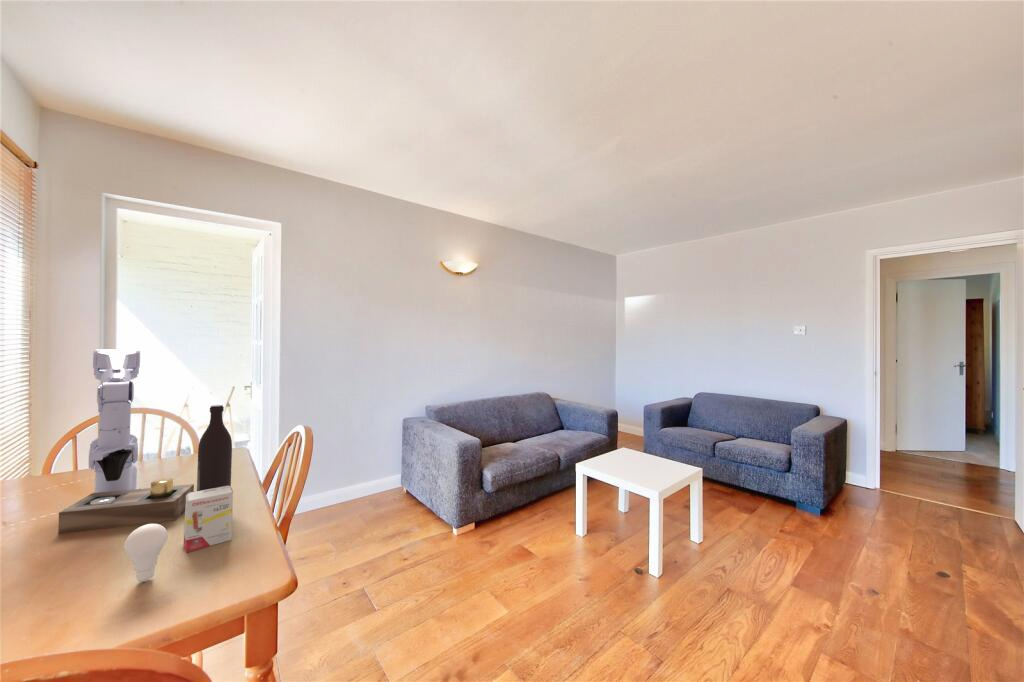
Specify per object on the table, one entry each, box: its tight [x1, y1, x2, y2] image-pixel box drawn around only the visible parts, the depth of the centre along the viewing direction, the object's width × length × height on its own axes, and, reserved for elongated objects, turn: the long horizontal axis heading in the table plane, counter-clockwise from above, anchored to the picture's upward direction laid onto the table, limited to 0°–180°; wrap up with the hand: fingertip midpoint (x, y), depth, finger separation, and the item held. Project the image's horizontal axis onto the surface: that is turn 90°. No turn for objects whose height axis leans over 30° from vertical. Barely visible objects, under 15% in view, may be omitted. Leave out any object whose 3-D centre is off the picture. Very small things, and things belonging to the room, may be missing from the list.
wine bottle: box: [196, 404, 233, 491], centre depth 99 cm, size 7×7×30 cm
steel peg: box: [90, 497, 115, 505], centre depth 97 cm, size 4×4×5 cm
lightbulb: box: [124, 523, 169, 583], centre depth 74 cm, size 6×6×11 cm
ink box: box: [183, 485, 234, 553], centre depth 88 cm, size 9×5×12 cm, turn 133°
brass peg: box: [150, 478, 174, 499], centre depth 102 cm, size 4×4×5 cm
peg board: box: [57, 483, 195, 534], centre depth 100 cm, size 12×22×5 cm, turn 111°
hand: (113, 480), depth 98 cm, fingers closed
